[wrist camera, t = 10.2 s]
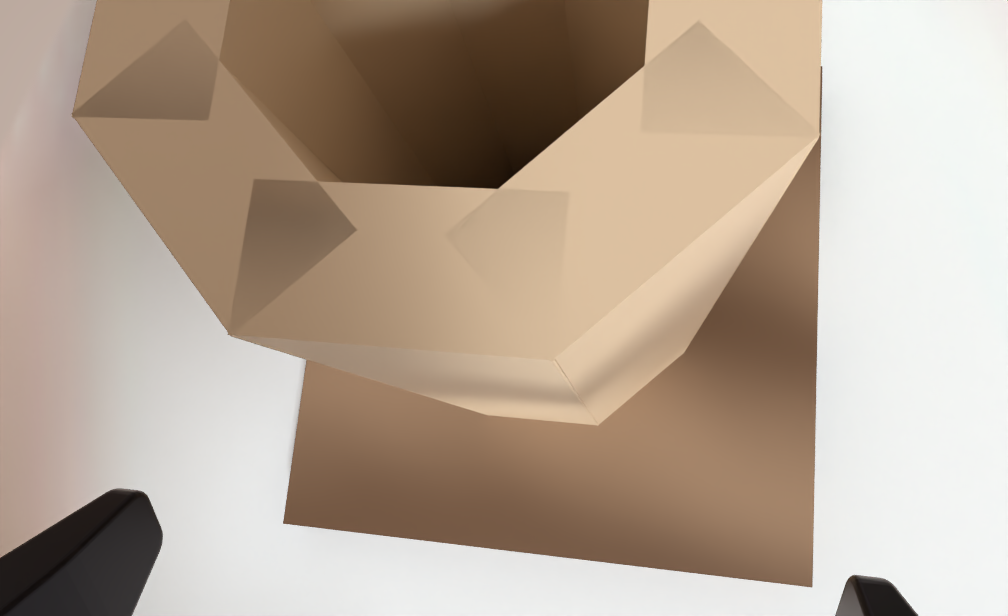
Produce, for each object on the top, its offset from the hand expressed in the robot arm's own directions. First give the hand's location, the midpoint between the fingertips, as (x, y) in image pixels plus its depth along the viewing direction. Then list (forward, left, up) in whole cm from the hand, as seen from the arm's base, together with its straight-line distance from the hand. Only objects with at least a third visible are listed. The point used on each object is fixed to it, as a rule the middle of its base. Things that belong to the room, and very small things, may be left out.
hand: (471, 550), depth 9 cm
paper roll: (+2, +5, -8) cm, 9 cm away
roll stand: (+2, +5, -9) cm, 10 cm away
